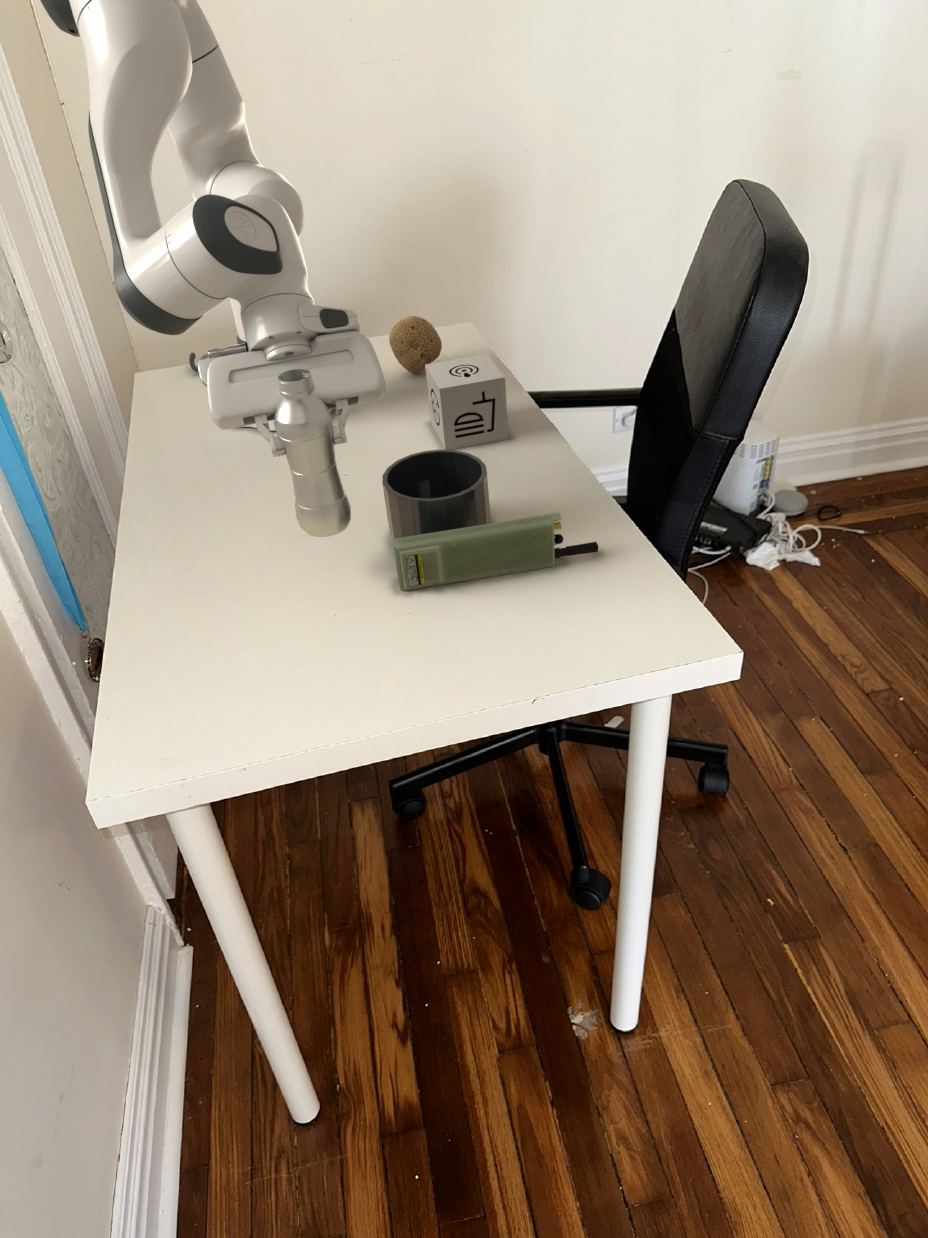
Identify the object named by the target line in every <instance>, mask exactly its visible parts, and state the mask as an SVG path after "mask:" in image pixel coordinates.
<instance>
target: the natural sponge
mask: <svg viewBox="0 0 928 1238" xmlns="http://www.w3.org/2000/svg"><path fill="white" fill-rule="evenodd" d="M388 341H389V346H390V348H391V351H392V353H393V356H394V357H395V359H396V360H397V362H398V364H399V365H401V367H403V368H404V369H405V370H406V371H407V372H409V373H411V374H413V375H417V374H419V373H421V372H422V371H424V370H425V364H431V363H434V361H435V360H437V359H438V358H439V357H440V355H441V353H442V348H443V343H442V342H443V341H442V340H441V337H440V335H439V333H438V331H437V330H436V329H435V327H434V326H433V324H432V323H431V322H430V321H428V320H427V319H425V318H424V317H421V316H417V315H410V316H409V315H408V316H407V317H405V318H402V319H400V320H398V321H397V323H395V324H394V325H393V327H392V328H391V330H390V333H389V336H388Z"/></svg>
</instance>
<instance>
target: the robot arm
mask: <svg viewBox="0 0 928 1238" xmlns="http://www.w3.org/2000/svg"><path fill="white" fill-rule="evenodd" d="M37 2H38V4H39V6H40V7H41V8H42V10H43V11H44V13H45V14H46V16H48V18H50V19H51V20H52V22H53V23H54V25H55V26H56V27H57V28H58V29H59V30H61V31H62V32H64V33H65V34H68V35H70V36H72V37H75V38H80V40H81V43H82V48H83V52H84V56H85V62H86V69H87V78H88V91H89V110H88V120H87V121H88V122H87V123H88V124H87V125H88V127H87V128H88V129H87V130H88V137H89V146H90V150H91V155H92V161H93V164H94V165H93V166H94V169H95V174H96V178H97V183H98V186H99V187H98V188H99V191H100V195H101V201H102V204H103V209H104V214H105V217H106V222H107V226H108V227H107V228H108V232H109V236H110V241H111V245H112V256H113V257H112V259H113V260H112V273H113V282H114V287H115V291H116V295H117V298H118V300H119V301H120V303H121V305H122V307H123V309H124V310H125V311H126V313H127V314H128V315H129V317H131V319H133V320H134V321H135V322H136V323H138V324H139V325H141V326H142V327H143V328H146V329H148V330H150V331H153V332H155V333H158V334H163V335H167V336H179V335H182V334H184V333H185V332H186V331H188V329H190V328H191V327H192V326H193V325H194V324H196V323H197V322H198V321H199V320H200V319H201V318H202V317H203V316H204V315H205V314H207V313H208V312H209V311H211V310H212V309H214V308H215V307H216V306H218V305H219V304H221V303H222V302H224V301H225V300H226V299H228V298H229V301H230V306H231V309H232V313H233V318H234V322H235V327H236V332H237V335H236V344H233V345H229V346H226V347H221V348H219V347H216V348H212V349H209V350H207V353H205V354H203V355H202V356H201V357H200V359H199V361H198V363H197V365H196V363H195V359H196V353H195V352H191V353H190V354H189V359H188V361H189V366H190V368H191V370H192V371H194V372H195V373H197V374H198V375H199V379H200V381H201V383H202V384H203V385H204V386H205V387H206V393H207V402H208V407H209V413H210V417H211V419H212V422H213V423H214V425H215V426H217V427H218V428H219V429H221V430H223V431H224V430H230V429H237V428H254V429H256V431H257V433H258V434H259V435H260V436H262V438H263V439H264V440H265V441H266V442H267V443H268V444H270V447H271V452H272V456H273V458H275V457H280V456H286V453H285V448H284V446H283V444H282V443H281V441H280V439H279V436H275V435H274V434H273V433H272V431H273V432H277V431H276V428H275V425H274V420H275V413H276V411H277V408H278V406H279V404H280V402H281V401H282V399H283V396H281V395H280V393H279V383H278V376H279V375H280V374H281V373H283V372H285V371H288V370H292V369H306V370H309V371H310V372H311V375H312V381H313V383H314V387H315V389H314V391H313V393H314V394H315V395H316V396H317V397H319V398H320V399H321V400H322V401H323V402H324V403H325V404H326V406H327V407H328V409H329V411H330V413H331V412H332V411H333V410H335V411H336V415H337V416H338V417H339V419H338V422H337V424H335V425H333V440H334V446H336V445H341V444H346V443H348V441H347V440H348V439H347V434H346V430H345V428H346V426H347V422H348V420H349V416H350V406H351V407H352V406H356V405H359V404H360V405H361V404H366V403H371V402H376V401H380V400H381V399H382V397H383V395H384V393H385V389H386V381H385V376H384V371H383V370H382V367H381V363H380V361H379V358H378V355H377V353H376V351H375V348H374V346H373V344H372V342H371V340H370V339H369V338H368V336H367V335H366V334H364V333H362V332H361V327H360V321H359V317H358V314H357V312H356V311H355V310H353V309H348V308H340V307H339V308H338V307H332V306H325V305H319V304H316V302H315V299H314V298H313V296H312V294H311V292H310V291H309V285H308V279H309V275H308V274H309V273H308V268H307V264H306V260H305V255H304V253H303V248H302V245H301V243H300V236H301V234H302V231H303V229H304V225H305V222H306V221H305V220H306V210H305V206H304V202H303V200H302V197H301V195H300V193H299V192H298V191H297V190H296V188H295V187H294V186H293V185H292V184H291V182H290V181H289V180H288V179H287V178H286V177H285V176H284V175H283V174H282V173H280V172H279V171H276V170H274V169H272V168H269V167H266V166H264V165H263V164H262V163H261V162H260V160H259V159H258V157H257V156H256V153H255V150H254V148H253V145H252V141H251V137H250V133H249V129H248V125H247V121H246V106H245V102H244V100H243V97H242V96H241V93H240V91H239V88H238V85H237V84H236V82H235V79H234V77H233V75H232V72H231V69H230V68H229V65H228V63H227V60H226V59H225V56H224V54H223V52H222V49H221V47H220V45H219V43H218V39H217V38H216V36H215V34H214V31H213V29H212V26H211V25H210V23H209V21H208V18H207V17H206V15H205V13H204V11H203V10H202V8H201V6H200V4H199V2H198V0H37ZM166 129H167V130H168V132H169V134H170V137H171V138H172V141H173V143H174V146H175V149H176V151H177V155H178V157H179V161H180V163H181V166H182V169H183V171H184V174H185V178H186V180H187V183H188V185H189V187H190V190H191V192H192V198H193V201H192V202H190V203H189V204H188V205H187V206H185V207H184V208H183V209H182V210H180V211H179V212H177V213H176V214H175V215H174V216H173V217H171V218H170V220H168V221H167V222H166V223H165V224H164V225H163V222H162V218H161V214H160V210H159V205H158V200H157V195H156V191H155V187H154V182H153V163H154V158H155V154H156V152H157V148H158V146H159V144H160V141H161V139H162V137H163V135H164V133H165V130H166Z"/></svg>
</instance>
